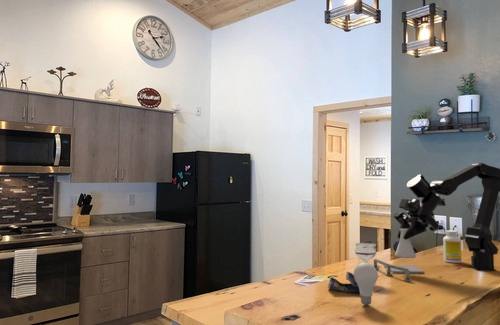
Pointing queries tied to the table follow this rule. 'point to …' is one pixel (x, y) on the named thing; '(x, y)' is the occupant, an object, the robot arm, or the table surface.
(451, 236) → the supplement bottle
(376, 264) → the bent rail
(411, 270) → the slate coaster
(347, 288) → the snack package
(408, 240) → the flask
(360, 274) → the lightbulb
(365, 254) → the wineglass
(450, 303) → the table surface
